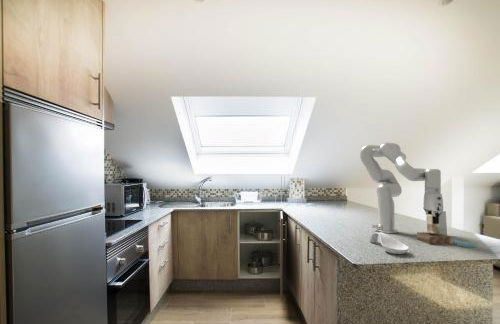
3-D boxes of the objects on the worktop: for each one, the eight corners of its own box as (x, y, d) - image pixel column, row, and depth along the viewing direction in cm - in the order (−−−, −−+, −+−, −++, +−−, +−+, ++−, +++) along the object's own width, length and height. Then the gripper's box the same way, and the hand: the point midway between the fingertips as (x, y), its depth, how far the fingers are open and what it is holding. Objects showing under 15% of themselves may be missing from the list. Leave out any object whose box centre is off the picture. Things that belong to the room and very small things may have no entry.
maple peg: (432, 233, 147) (431, 215, 147) (427, 231, 151) (426, 214, 151) (439, 233, 147) (438, 215, 147) (434, 231, 151) (433, 214, 151)
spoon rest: (414, 256, 124) (414, 241, 125) (392, 257, 123) (392, 242, 123) (381, 242, 148) (381, 229, 148) (362, 243, 146) (362, 230, 146)
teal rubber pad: (463, 247, 137) (463, 245, 137) (449, 242, 146) (449, 241, 146) (479, 247, 137) (479, 245, 138) (465, 242, 146) (465, 240, 146)
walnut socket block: (429, 244, 143) (429, 236, 143) (417, 239, 153) (417, 232, 153) (450, 244, 144) (450, 236, 144) (437, 239, 154) (436, 232, 154)
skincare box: (447, 237, 159) (447, 211, 159) (436, 237, 159) (436, 211, 159) (437, 233, 167) (437, 209, 167) (427, 233, 167) (427, 209, 167)
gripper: (450, 192, 141) (450, 226, 141) (428, 189, 158) (428, 219, 157) (437, 192, 141) (437, 226, 140) (416, 189, 157) (416, 219, 157)
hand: (432, 222), depth 149 cm, fingers closed on maple peg, 4 cm apart
